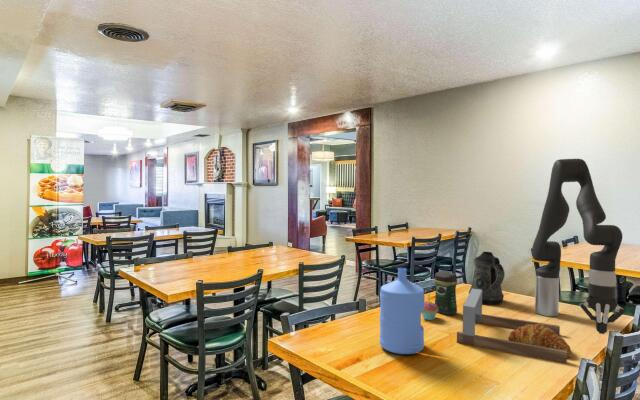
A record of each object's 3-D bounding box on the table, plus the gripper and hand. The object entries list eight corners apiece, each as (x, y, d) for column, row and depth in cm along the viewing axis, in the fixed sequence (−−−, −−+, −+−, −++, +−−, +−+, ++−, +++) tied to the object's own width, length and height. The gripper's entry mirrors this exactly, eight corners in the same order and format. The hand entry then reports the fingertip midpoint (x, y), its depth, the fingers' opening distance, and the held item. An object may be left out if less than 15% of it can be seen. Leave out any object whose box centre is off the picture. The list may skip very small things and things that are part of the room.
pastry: (503, 343, 138) (504, 321, 137) (517, 334, 146) (517, 314, 146) (568, 362, 122) (569, 338, 122) (579, 351, 131) (580, 328, 131)
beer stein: (478, 294, 203) (478, 248, 203) (515, 302, 188) (516, 253, 188) (462, 299, 193) (463, 251, 192) (500, 308, 178) (501, 256, 177)
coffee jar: (459, 313, 171) (460, 273, 170) (449, 316, 166) (450, 275, 165) (441, 308, 178) (442, 269, 178) (431, 311, 173) (431, 271, 173)
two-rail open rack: (466, 319, 162) (467, 287, 162) (559, 334, 146) (559, 299, 145) (456, 342, 137) (457, 304, 137) (566, 363, 121) (567, 320, 121)
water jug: (398, 358, 124) (399, 275, 123) (371, 342, 137) (371, 266, 137) (433, 350, 131) (434, 270, 130) (404, 334, 145) (404, 263, 144)
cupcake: (439, 322, 159) (439, 294, 159) (419, 320, 161) (419, 293, 160) (437, 315, 167) (437, 289, 167) (417, 314, 169) (418, 288, 169)
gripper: (623, 283, 128) (623, 333, 128) (577, 278, 134) (576, 326, 134) (629, 287, 121) (628, 340, 121) (580, 282, 127) (579, 333, 128)
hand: (601, 333), depth 128 cm, fingers closed
